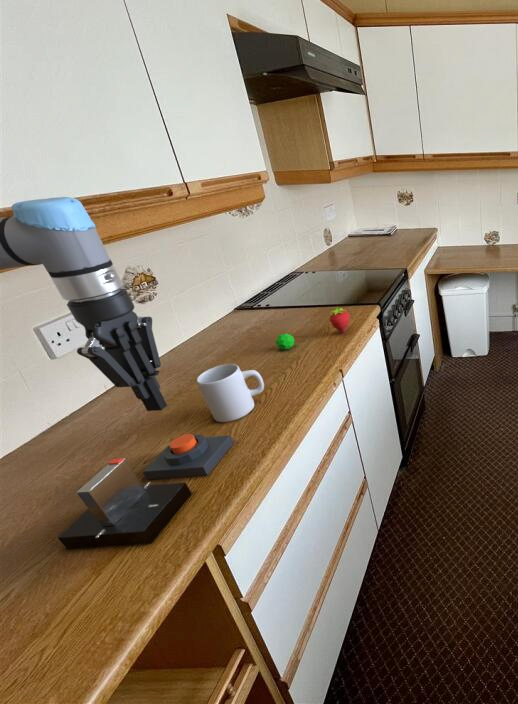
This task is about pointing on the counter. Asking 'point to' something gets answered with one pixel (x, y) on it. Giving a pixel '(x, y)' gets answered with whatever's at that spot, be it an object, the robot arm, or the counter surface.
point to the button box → (189, 459)
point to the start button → (183, 444)
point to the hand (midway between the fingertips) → (157, 408)
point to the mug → (228, 391)
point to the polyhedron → (285, 341)
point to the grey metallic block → (112, 492)
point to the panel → (129, 520)
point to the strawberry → (339, 319)
